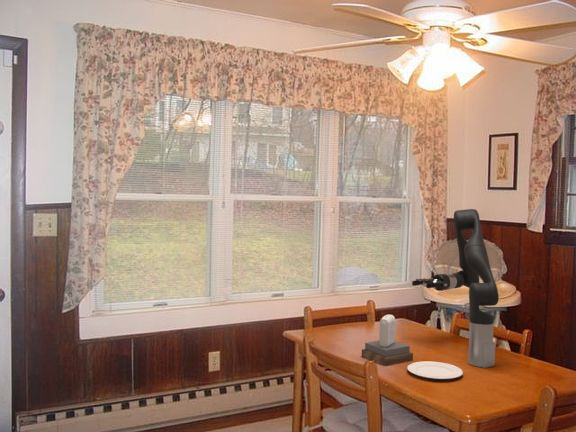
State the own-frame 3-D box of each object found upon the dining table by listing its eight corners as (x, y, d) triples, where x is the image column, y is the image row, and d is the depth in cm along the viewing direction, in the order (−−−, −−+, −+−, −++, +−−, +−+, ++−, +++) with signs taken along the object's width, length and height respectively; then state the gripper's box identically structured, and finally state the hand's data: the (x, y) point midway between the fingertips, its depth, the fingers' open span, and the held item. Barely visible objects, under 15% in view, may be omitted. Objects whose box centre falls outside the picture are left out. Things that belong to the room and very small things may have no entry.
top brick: (409, 353, 231) (409, 345, 231) (385, 357, 224) (385, 350, 224) (388, 345, 242) (388, 338, 242) (365, 349, 235) (365, 342, 235)
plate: (468, 371, 218) (468, 366, 218) (455, 387, 200) (455, 381, 200) (416, 362, 229) (416, 358, 229) (399, 377, 211) (399, 372, 211)
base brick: (412, 360, 231) (413, 353, 231) (385, 366, 223) (385, 358, 223) (388, 351, 244) (388, 344, 244) (361, 356, 236) (361, 349, 236)
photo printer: (386, 340, 239) (387, 312, 238) (396, 342, 237) (396, 313, 236) (377, 346, 230) (378, 316, 229) (387, 347, 228) (388, 318, 227)
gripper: (432, 272, 263) (408, 274, 254) (456, 275, 251) (431, 278, 243) (432, 287, 264) (408, 290, 255) (456, 292, 252) (431, 295, 243)
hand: (419, 284), depth 249 cm, fingers open, 8 cm apart
